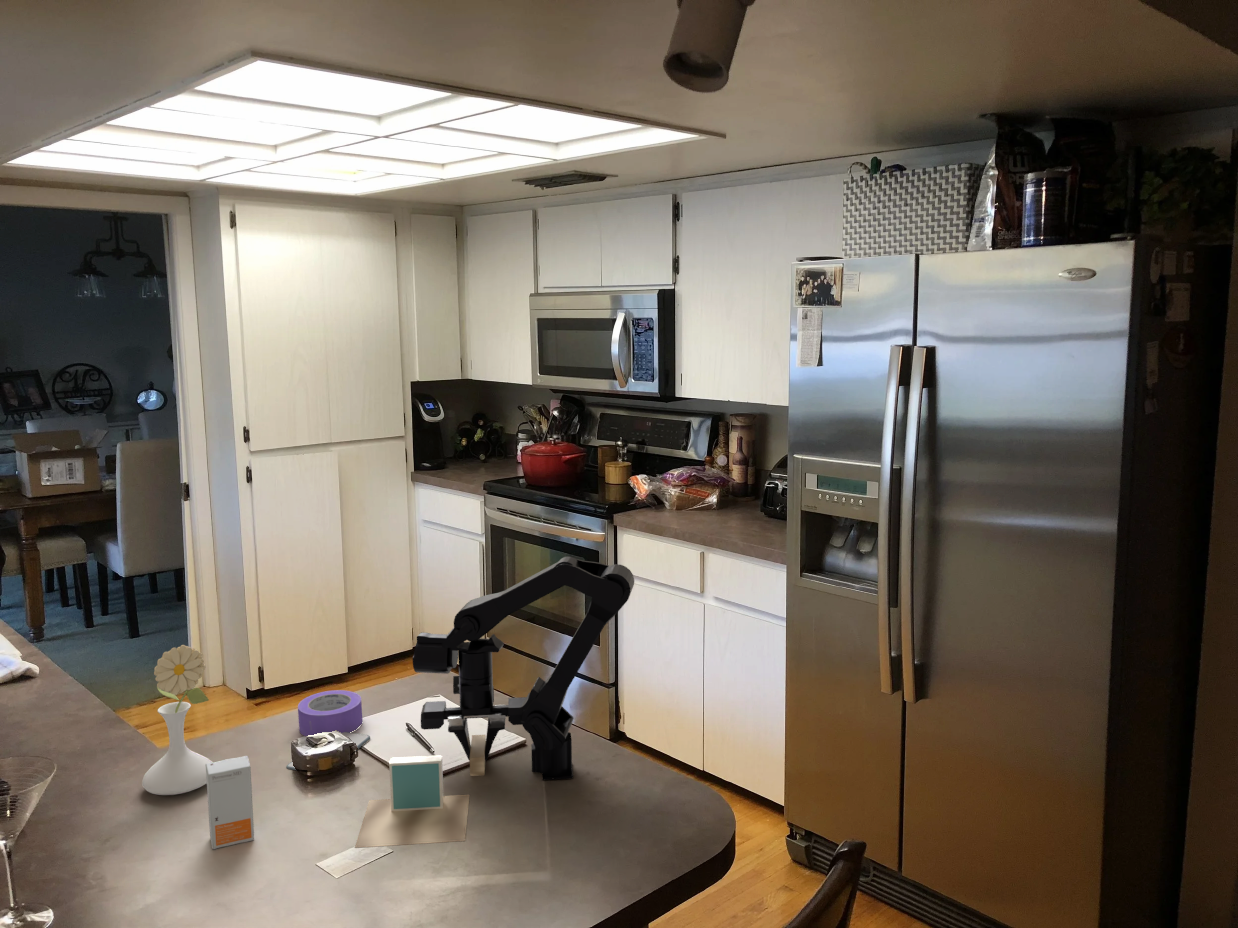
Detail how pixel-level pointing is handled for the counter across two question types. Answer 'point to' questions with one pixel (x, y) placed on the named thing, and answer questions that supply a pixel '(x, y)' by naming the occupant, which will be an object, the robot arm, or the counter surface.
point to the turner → (477, 755)
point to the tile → (416, 783)
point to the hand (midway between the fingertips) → (478, 759)
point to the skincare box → (230, 801)
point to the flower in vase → (178, 724)
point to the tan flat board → (413, 824)
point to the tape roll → (330, 712)
